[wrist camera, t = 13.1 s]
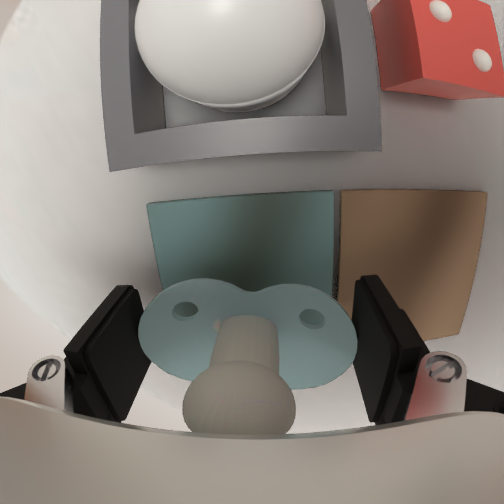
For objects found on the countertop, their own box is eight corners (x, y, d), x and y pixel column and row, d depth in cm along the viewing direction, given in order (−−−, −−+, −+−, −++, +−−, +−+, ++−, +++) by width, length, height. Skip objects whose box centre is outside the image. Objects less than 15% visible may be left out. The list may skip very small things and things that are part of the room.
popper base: (433, -16, 7) (477, -46, 4) (455, 151, 10) (514, 165, 7) (136, -14, 8) (94, -51, 5) (145, 161, 11) (96, 177, 8)
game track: (569, 198, 10) (572, 200, 10) (543, 309, 13) (545, 311, 13) (148, 202, 12) (146, 204, 12) (181, 353, 15) (179, 356, 14)
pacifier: (326, 382, 13) (352, 269, 11) (341, 502, 8) (410, 407, 5) (171, 372, 14) (153, 259, 11) (133, 485, 8) (67, 381, 5)
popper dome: (302, -14, 8) (323, -93, 3) (316, 108, 10) (357, 89, 5) (166, 1, 8) (106, -62, 4) (173, 120, 10) (101, 116, 5)
